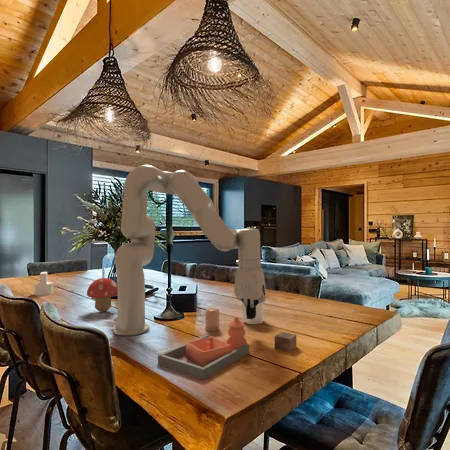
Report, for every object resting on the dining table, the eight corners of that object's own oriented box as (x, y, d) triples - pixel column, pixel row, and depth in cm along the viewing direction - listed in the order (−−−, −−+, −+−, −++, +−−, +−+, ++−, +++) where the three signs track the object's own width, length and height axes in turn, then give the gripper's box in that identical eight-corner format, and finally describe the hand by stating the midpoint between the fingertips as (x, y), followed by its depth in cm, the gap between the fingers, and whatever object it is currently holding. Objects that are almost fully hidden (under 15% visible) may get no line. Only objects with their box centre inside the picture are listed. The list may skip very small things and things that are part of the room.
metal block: (274, 349, 100) (274, 336, 100) (281, 344, 105) (281, 331, 105) (290, 352, 98) (290, 339, 98) (296, 347, 102) (296, 334, 102)
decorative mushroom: (105, 306, 155) (105, 275, 155) (125, 310, 148) (125, 277, 148) (80, 313, 144) (80, 278, 144) (100, 317, 137) (100, 281, 137)
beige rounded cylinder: (202, 329, 120) (202, 310, 120) (211, 326, 124) (211, 307, 124) (213, 332, 117) (213, 312, 117) (221, 328, 121) (221, 309, 121)
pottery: (203, 368, 87) (203, 331, 87) (186, 356, 95) (186, 322, 95) (255, 353, 97) (255, 319, 97) (236, 343, 105) (236, 313, 105)
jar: (268, 321, 130) (268, 290, 130) (255, 325, 124) (255, 293, 124) (250, 317, 136) (250, 288, 136) (237, 321, 130) (237, 290, 130)
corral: (157, 364, 89) (157, 355, 89) (206, 342, 106) (206, 334, 106) (203, 379, 80) (203, 369, 80) (248, 353, 97) (248, 344, 97)
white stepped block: (35, 293, 190) (35, 272, 190) (53, 291, 193) (53, 271, 193) (33, 296, 181) (33, 274, 181) (52, 294, 185) (52, 273, 185)
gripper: (225, 264, 114) (227, 317, 114) (263, 266, 105) (265, 324, 105) (237, 262, 120) (238, 313, 120) (274, 264, 112) (275, 318, 111)
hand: (251, 318), depth 113 cm, fingers closed
